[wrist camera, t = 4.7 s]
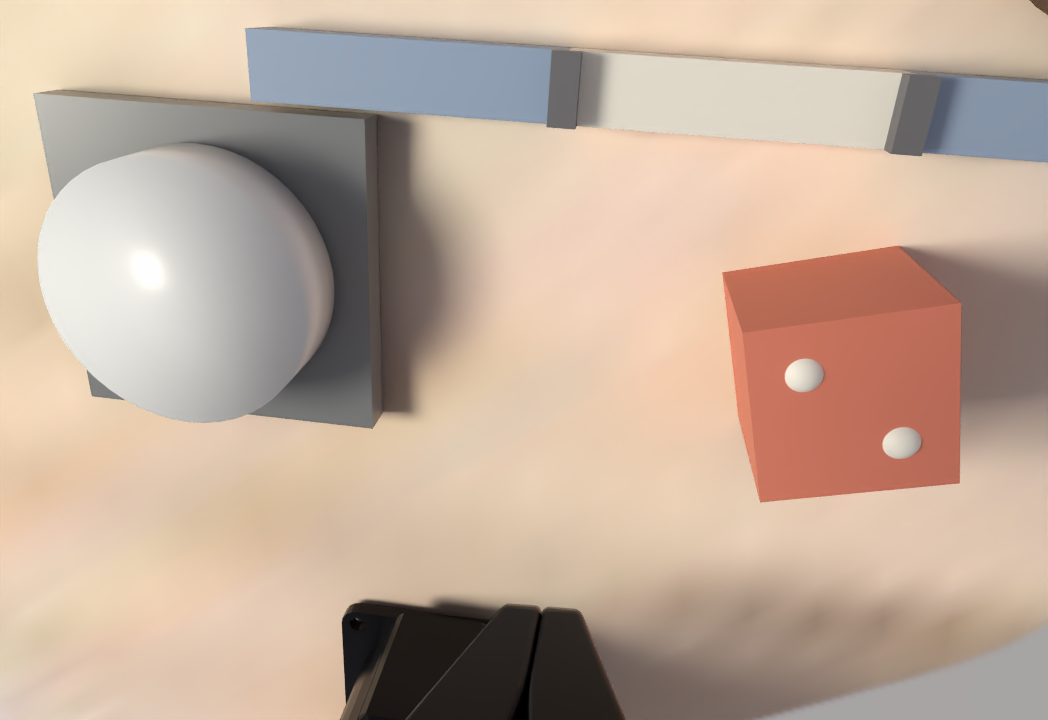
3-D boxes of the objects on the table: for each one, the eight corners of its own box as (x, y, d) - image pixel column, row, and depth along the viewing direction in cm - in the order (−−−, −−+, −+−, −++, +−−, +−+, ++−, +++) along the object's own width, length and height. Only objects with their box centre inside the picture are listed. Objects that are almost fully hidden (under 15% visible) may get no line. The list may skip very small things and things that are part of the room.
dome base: (382, 412, 22) (372, 428, 21) (111, 382, 23) (92, 396, 22) (376, 114, 19) (364, 119, 18) (58, 89, 19) (33, 93, 18)
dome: (346, 393, 21) (314, 436, 19) (121, 368, 22) (65, 407, 20) (336, 150, 18) (297, 168, 16) (80, 128, 19) (10, 144, 17)
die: (900, 396, 20) (963, 488, 16) (738, 415, 21) (761, 507, 17) (896, 244, 18) (965, 306, 15) (722, 271, 19) (743, 336, 15)
